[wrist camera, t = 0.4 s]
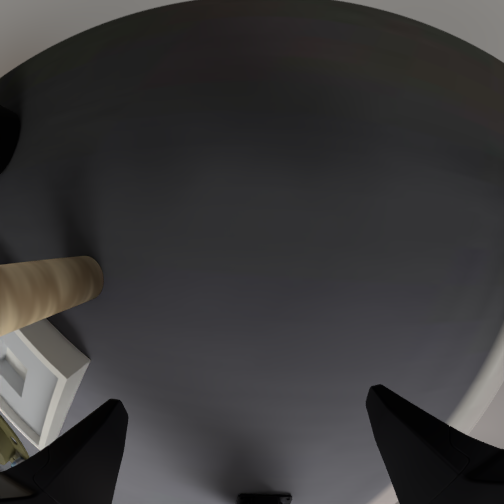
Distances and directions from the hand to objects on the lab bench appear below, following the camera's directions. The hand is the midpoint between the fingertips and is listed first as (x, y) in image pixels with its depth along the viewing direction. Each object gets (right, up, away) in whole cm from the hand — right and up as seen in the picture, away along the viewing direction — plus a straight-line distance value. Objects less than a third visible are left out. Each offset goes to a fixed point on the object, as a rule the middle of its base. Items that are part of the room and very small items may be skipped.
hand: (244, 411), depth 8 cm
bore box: (-26, -7, +13) cm, 30 cm away
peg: (-15, +3, +13) cm, 20 cm away
